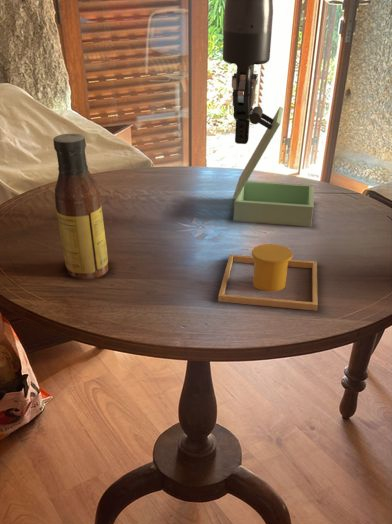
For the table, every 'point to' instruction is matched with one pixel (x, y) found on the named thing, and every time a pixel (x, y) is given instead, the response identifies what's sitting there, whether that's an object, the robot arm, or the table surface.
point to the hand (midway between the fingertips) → (241, 142)
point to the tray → (268, 301)
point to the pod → (270, 266)
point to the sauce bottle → (79, 210)
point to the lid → (262, 145)
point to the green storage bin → (275, 203)
